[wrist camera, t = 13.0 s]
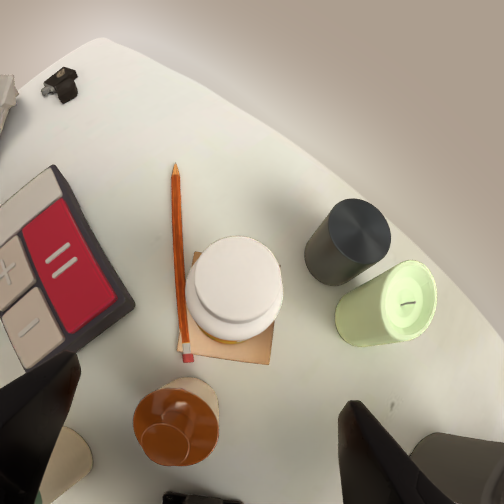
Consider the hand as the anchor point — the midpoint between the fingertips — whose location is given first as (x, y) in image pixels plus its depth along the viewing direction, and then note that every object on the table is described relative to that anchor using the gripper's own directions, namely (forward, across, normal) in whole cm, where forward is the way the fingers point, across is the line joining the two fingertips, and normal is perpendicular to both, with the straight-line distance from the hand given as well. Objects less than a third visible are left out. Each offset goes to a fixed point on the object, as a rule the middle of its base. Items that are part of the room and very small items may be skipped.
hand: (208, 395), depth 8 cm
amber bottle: (+8, +2, +12) cm, 14 cm away
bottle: (+4, -22, +15) cm, 27 cm away
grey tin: (+17, -8, +2) cm, 19 cm away
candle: (+14, -11, +6) cm, 19 cm away
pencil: (+16, +4, +4) cm, 17 cm away
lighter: (+31, +26, -13) cm, 43 cm away
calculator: (+13, +16, +6) cm, 22 cm away
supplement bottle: (+13, 0, +6) cm, 14 cm away
